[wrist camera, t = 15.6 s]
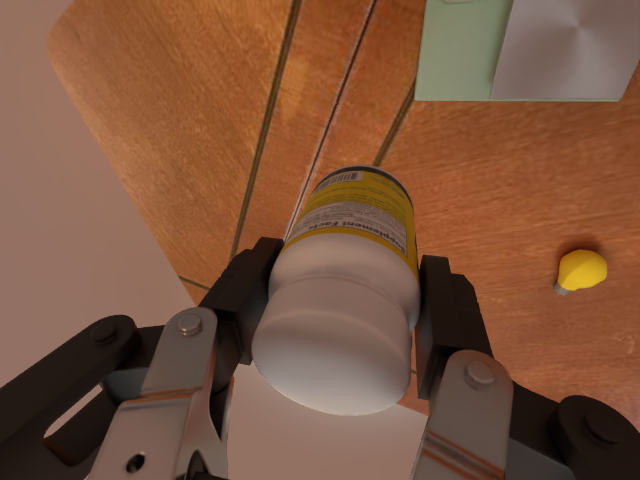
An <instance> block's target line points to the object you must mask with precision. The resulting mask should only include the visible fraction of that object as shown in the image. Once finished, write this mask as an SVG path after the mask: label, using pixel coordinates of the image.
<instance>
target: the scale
mask: <svg viewBox="0 0 640 480" xmlns="http://www.w3.org/2000/svg"><path fill="white" fill-rule="evenodd" d="M512 2H513V0H426V1H425V9H424V17H423V25H422V33H421V42H420V50H419V58H418V66H417V74H416V82H415V90H414V101H594V102H618V101H619V100H620V99H511V98H489V95H490V91H491V87H492V83H493V79H494V75H495V71H496V67H497V63H498V58H499V54H500V50H501V46H502V42H503V38H504V34H505V30H506V26H507V22H508V18H509V14H510V10H511V6H512Z"/></svg>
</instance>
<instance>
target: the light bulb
mask: <svg viewBox="0 0 640 480" xmlns="http://www.w3.org/2000/svg"><path fill="white" fill-rule="evenodd" d="M606 276H607V263H606V261H605V260H604V259H603V258H602V257H601V255H599V254H597V253H595V252H593V251H589V250H580V249H578V250H574V251H572V252H570V253H568V254H566V255H565V256H563V257H562V259H561V260H560V266H559V276H558V282H557V283H555V285H554V287H553V289H554V290H555V291H556V292H557V293H558V294H560V295H567V294H568V293H570V292H571V291H572V290H573V291H574V290H576V289H578V288H587V287H592V286H594V285H595V284H597V283H599V282H601V281H603V280H604V279H605V278H606Z"/></svg>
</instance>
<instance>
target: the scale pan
mask: <svg viewBox="0 0 640 480" xmlns="http://www.w3.org/2000/svg"><path fill="white" fill-rule="evenodd" d="M639 60H640V0H513V2H512V6H511V10H510V14H509V18H508V22H507V26H506V30H505V34H504V38H503V42H502V46H501V50H500V54H499V58H498V63H497V67H496V71H495V75H494V79H493V83H492V87H491V91H490V95H489V98H511V99H622V97H623V95H624V93H625V91H626V88H627V86H628V84H629V82H630V80H631V78H632V75H633V73H634V71H635V69H636V67H637V65H638V63H639Z"/></svg>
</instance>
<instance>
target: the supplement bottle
mask: <svg viewBox="0 0 640 480" xmlns="http://www.w3.org/2000/svg"><path fill="white" fill-rule="evenodd" d="M268 297H269V302H268V304H267V305H266V308H265V311H264V313H263V316H262V318H261V320H260V322H259V324H258V327H257V329H256V331H255V334H254V336H253V340H252V345H251V346H252V357H253V360H254V363H255V365H256V367H257V369H258V371H259V372H260V373H261V375H262V376H263V377H264V379H265V380H266V381H267V382H268V383H269V384H270V385H271V386H273V387H274V388H275V389H276V390H277V391H279V392H280V393H282V394H283V395H285V396H286V397H288V398H289V399H291V400H293V401H295V402H297V403H300V404H301V405H304V406H307V407H310V408H312V409H315V410H318V411H322V412H326V413H331V414H336V415H366V414H373V413H377V412H380V411H383V410H385V409H387V408H389V407H391V406H393V405H394V404H396V403H397V402H398V401H400V399H401V398H402V397H403V396H404V395H405V393H406V391H407V389H408V387H409V384H410V378H411V349H412V335H411V332H412V331H413V329H414V327H415V325H416V323H417V321H418V318H419V315H420V309H421V287H420V277H419V267H418V256H417V245H416V233H415V222H414V211H413V205H412V200H411V198H410V195H409V193H408V191H407V190H406V188H405V186H404V185H403V184H402V183H401V182H400V181H399V180H398V179H397V178H396V177H395V176H394V175H392V174H391V173H389V172H387V171H386V170H383V169H381V168H378V167H374V166H371V165H362V164H357V165H348V166H344V167H341V168H338V169H336V170H334V171H332V172H331V173H329V174H328V175H326V176H325V177H324V178H323V179H322V180H321V181H320V182H319V183H318V185H317V186H316V188H315V189H314V191H313V192H312V194H311V196H310V198H309V200H308V202H307V204H306V206H305V208H304V210H303V212H302V214H301V215H300V217H299V219H298V221H297V223H296V225H295V226H294V228H293V230H292V232H291V234H290V236H289V237H288V239H287V241H286V243H285V245H284V246H283V248H282V250H281V252H280V254H279V256H278V258H277V260H276V262H275V264H274V266H273V269H272V271H271V274H270V278H269V285H268Z"/></svg>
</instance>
